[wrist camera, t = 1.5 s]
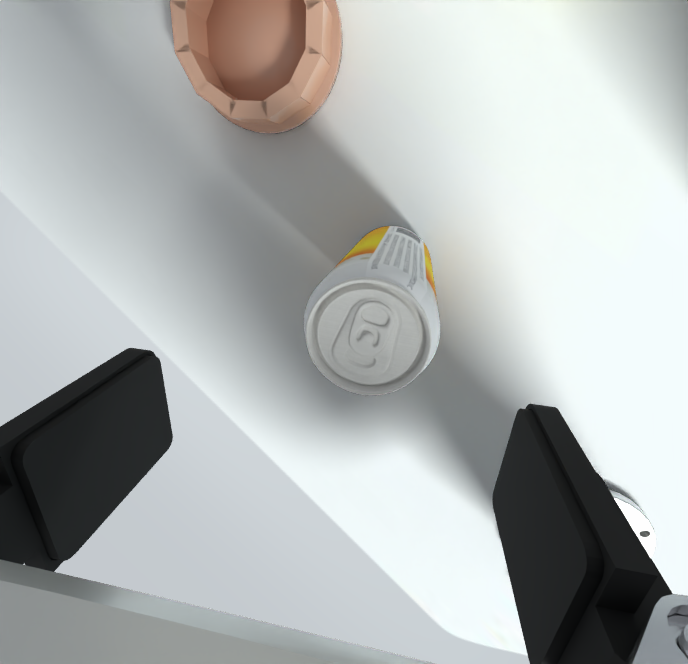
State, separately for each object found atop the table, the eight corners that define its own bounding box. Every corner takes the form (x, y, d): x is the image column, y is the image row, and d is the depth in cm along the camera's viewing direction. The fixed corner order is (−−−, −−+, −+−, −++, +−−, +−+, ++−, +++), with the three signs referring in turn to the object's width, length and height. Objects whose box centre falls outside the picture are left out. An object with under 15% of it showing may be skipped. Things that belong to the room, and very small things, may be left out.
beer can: (343, 287, 30) (282, 375, 17) (366, 213, 28) (316, 247, 14) (413, 311, 30) (409, 422, 16) (443, 239, 28) (467, 299, 14)
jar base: (338, 137, 26) (328, 131, 23) (200, 130, 28) (174, 124, 25) (347, -63, 22) (336, -99, 19) (184, -58, 24) (151, -91, 21)
